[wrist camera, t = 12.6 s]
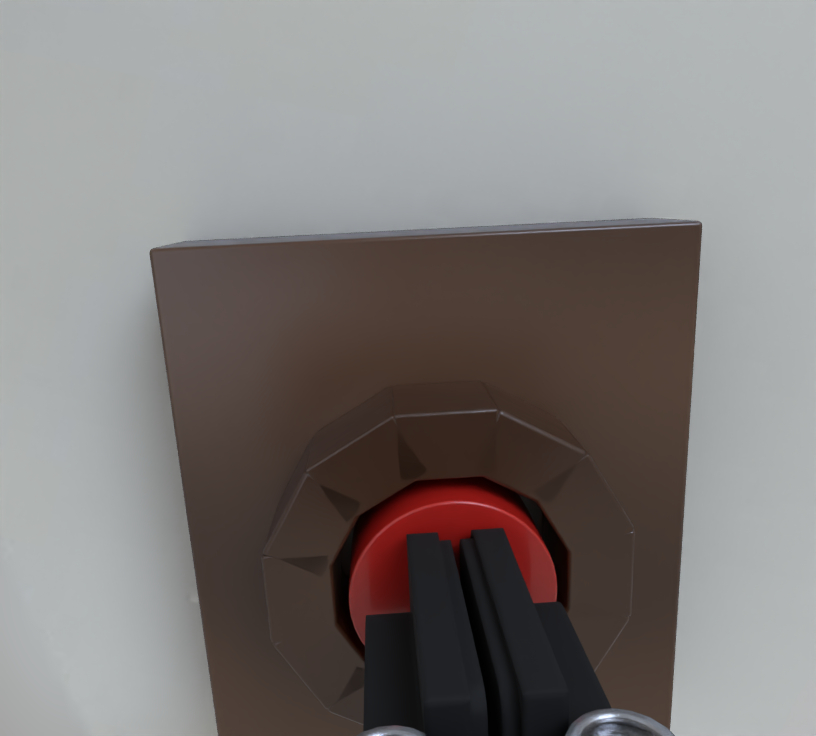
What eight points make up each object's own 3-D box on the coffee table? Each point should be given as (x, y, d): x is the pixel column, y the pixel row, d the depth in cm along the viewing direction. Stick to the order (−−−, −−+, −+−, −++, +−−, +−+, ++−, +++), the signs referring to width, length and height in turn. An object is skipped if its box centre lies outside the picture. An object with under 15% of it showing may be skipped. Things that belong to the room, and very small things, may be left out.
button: (345, 467, 12) (341, 508, 11) (534, 455, 13) (559, 494, 11) (357, 632, 13) (355, 695, 12) (533, 619, 13) (556, 679, 12)
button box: (182, 241, 14) (107, 257, 10) (654, 217, 14) (760, 224, 10) (244, 721, 17) (205, 879, 13) (632, 691, 17) (708, 835, 13)
